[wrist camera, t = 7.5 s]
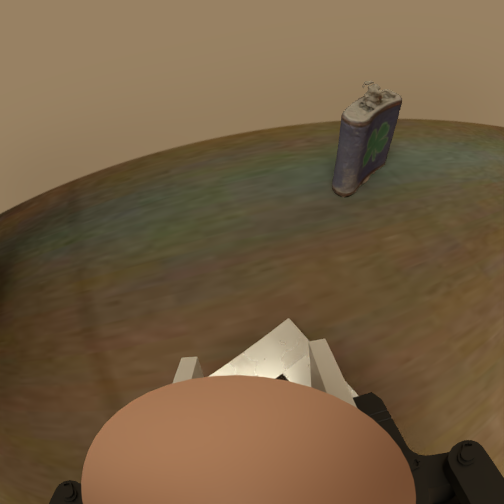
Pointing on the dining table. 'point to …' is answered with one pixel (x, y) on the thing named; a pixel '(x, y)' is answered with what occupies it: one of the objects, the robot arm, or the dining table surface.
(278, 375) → the socket
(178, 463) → the plug
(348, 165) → the flask
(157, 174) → the dining table surface
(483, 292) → the dining table surface
